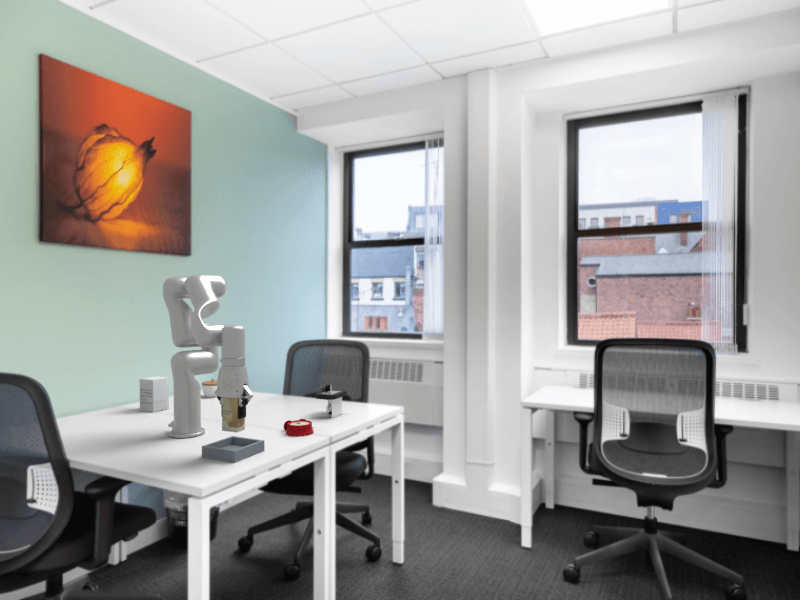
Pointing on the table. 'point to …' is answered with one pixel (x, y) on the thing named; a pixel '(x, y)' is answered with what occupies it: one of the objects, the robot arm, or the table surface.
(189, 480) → the table surface
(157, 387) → the supplement box
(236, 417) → the skincare box
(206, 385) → the lidded jar
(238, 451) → the tray
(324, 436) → the table surface
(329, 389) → the black-topped pedestal
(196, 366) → the robot arm
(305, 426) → the alarm clock
